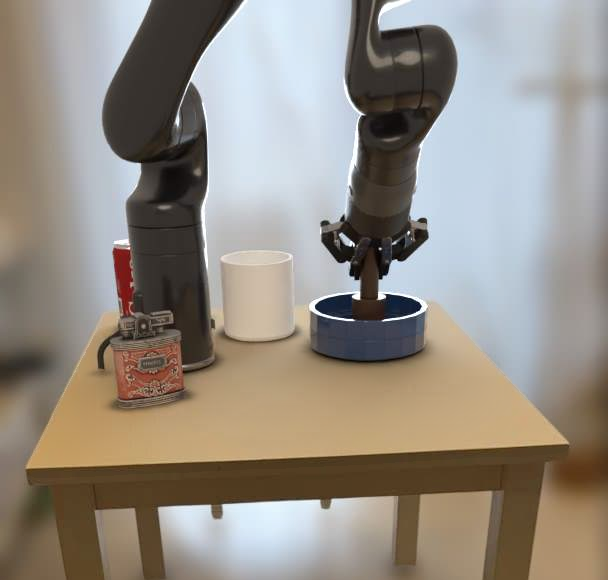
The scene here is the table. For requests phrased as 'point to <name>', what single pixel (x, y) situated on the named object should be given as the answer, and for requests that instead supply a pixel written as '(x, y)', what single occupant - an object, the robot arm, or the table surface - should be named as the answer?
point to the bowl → (367, 328)
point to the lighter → (148, 361)
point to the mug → (258, 295)
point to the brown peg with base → (369, 290)
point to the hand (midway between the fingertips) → (367, 273)
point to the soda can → (123, 276)
